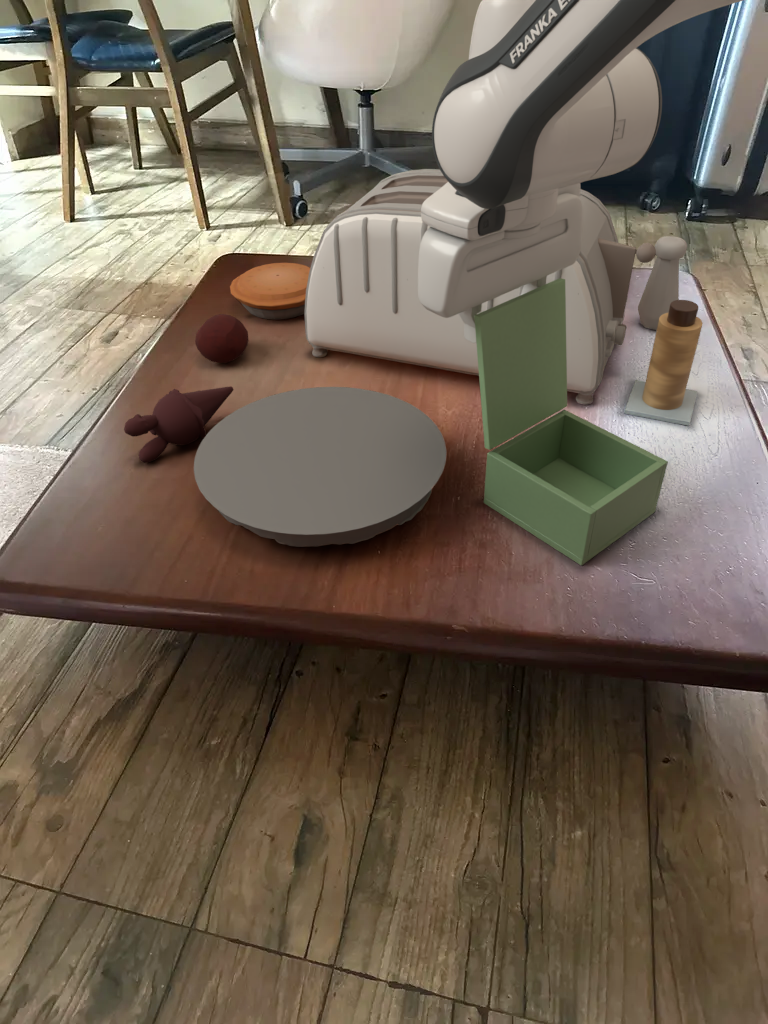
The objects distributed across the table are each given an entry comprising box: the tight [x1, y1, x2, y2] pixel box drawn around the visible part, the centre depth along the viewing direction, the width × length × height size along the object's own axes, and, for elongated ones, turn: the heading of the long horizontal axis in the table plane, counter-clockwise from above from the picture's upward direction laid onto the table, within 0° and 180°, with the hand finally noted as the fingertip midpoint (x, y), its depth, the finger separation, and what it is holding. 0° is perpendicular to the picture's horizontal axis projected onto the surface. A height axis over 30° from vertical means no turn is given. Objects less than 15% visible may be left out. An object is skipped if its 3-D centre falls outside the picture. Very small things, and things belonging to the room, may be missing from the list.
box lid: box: [474, 278, 568, 451], centre depth 82 cm, size 14×13×5 cm
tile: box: [623, 379, 699, 427], centre depth 101 cm, size 8×8×1 cm
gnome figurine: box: [123, 386, 234, 464], centre depth 96 cm, size 7×7×15 cm
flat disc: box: [193, 386, 447, 548], centre depth 88 cm, size 28×28×4 cm
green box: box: [483, 409, 669, 567], centre depth 83 cm, size 14×13×7 cm
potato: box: [194, 313, 249, 364], centre depth 112 cm, size 8×9×6 cm
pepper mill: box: [642, 299, 704, 410], centre depth 97 cm, size 5×5×13 cm
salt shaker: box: [637, 235, 688, 331], centre depth 114 cm, size 6×6×13 cm
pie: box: [229, 262, 311, 321], centre depth 125 cm, size 15×16×5 cm
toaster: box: [304, 168, 656, 406], centre depth 106 cm, size 21×45×22 cm, turn 68°
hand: (499, 328), depth 81 cm, fingers closed on box lid, 6 cm apart
